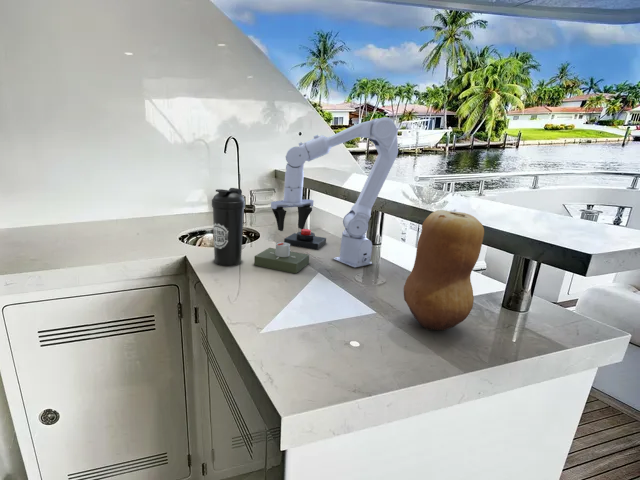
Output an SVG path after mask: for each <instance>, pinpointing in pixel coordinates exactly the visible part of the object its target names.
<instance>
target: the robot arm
mask: <svg viewBox="0 0 640 480" xmlns="http://www.w3.org/2000/svg"><path fill="white" fill-rule="evenodd" d="M398 132H399V130H398V128H397V125H396V124H395V122H394V121H393V119H391V118H390V117H386V116H384V117H380V118H373V119H371V120H367V121H363V122H359V123H355V124H354V125H351V126H350V127H347V128H345V129H343V130H341V131H338V132H337V133H334V134H332V135H331V136H325V135H323V134H321V135H319V134H316V135H313V138H312V139H310V140H307V141H304V142H301V141H300V142H298V146H292V147H290V148H289V149H288V150H287V152H286V155H285V160H286V162H287V163H286V165H285V172H284V188H283V199H281V200H275V201H270V208H271V211H272V213H273V215H274V218H275V220H276V225H277V230H278V231H280V232H284V229H285V228H284V227H285V226H284V225H285V218H286V214H287V210H285V208H297V214H298V219H297V220H298V223H297V227H298V229H301V230H302V229H305V225H306V223H307V220H308V218H309V216H310V215H311V213H312V211H313V207H314V202H315V201H314V199H303V192H304V176H305V172H304V166H305V163H306V161H307V162H312V161H314V160H316V159H318V158H321V157H323V156H326V155H328V154H329V153H330V151H331V149H332V148H333V147H336V146H338V145H339V146H340V145H341V144H345V143H347V142H349V141H352V140H355V139H357V138H365V139H369V141H370V142H371V143H372V144H374V147H375V149H376V151H377V156H376V159H375V160H374V163H373V165H372V166H371V167H372V168H371V169H370V172H369V174H368V176H367V178H366V181H365V182H364V184H363V186H362V189H361V191H360V193H359V194H358V198H357V200H356V201H355V203H354V204H353V205H352V206H351V208H350V210H349V212H347V213H346V214H345V215H344V217H343V219H342V225H343V227H344V230H343V231H342V234H341V242H340V249H339V256H337V257H333V260H334V261H337V262H339V263H342V264H344V265H347V266H350V267H352V268H359V267H360V268H361V267H363V266H364V267H365V266H368V265H372V260H371V259H372V253H373V242H372V240H371V239H368V238H367V235H366V233H367V231H368V230H369V222H370V219H371V215H372V208H373V207H374V204H375V203H376V200H377V199H378V196H379V194H380V192H381V191H382V188H383V186H384V183H385V181H386V180H387V177H388V176H389V173H390V171H391V169H392V167H393V165H394V163H395V161H396V159H397V157H398V154H399V143H398Z"/></svg>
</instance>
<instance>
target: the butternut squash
mask: <svg viewBox="0 0 640 480" xmlns="http://www.w3.org/2000/svg"><path fill="white" fill-rule="evenodd" d="M484 237H485V228H484V226H483V223H482V222H480V220H479V219H478V218H477V217H475V216H473V215H472V214H469V213H466V212H461V211H450V210H443V209H438V210H435V211H432V212H431V213H430V214H429V215H428V216H427V217H426V218H425V219H424V220H423V222H422V224H421V232H420V234H419V237H418V241H417V244H416V253H415V259H414V264H413V267H412V269H411V272H410V273H409V274H408V276H407V278H406V280H405V282H404V284H403V300H404V301H405V303H406V305H407V306H408V308H409V311H410V312H411V314H412V316H413V317H414V319H415V320H416V321H417V322H418V323H419V325H420V326H422V327H423V328H425V330H429V331H430V330H434V331H446V330H449V329H451V328H454V327H456V326H457V325H459V324H460V323H462V322H464V321H465V320H466V319H467V318H468V317H469V316H470V314H471V311H472V310H473V308H474V299H475V298H474V290H473V285H472V281H471V275H472V272H473V270H474V268H475V266H476V264H477V262H478V261H479V258H480V254H481V251H482V245H483V242H484Z"/></svg>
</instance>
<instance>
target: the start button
mask: <svg viewBox="0 0 640 480" xmlns="http://www.w3.org/2000/svg"><path fill="white" fill-rule="evenodd" d="M300 232H301V234H302V235H311V232H312V230H311V229H309V228H303V229H301V230H300Z"/></svg>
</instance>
